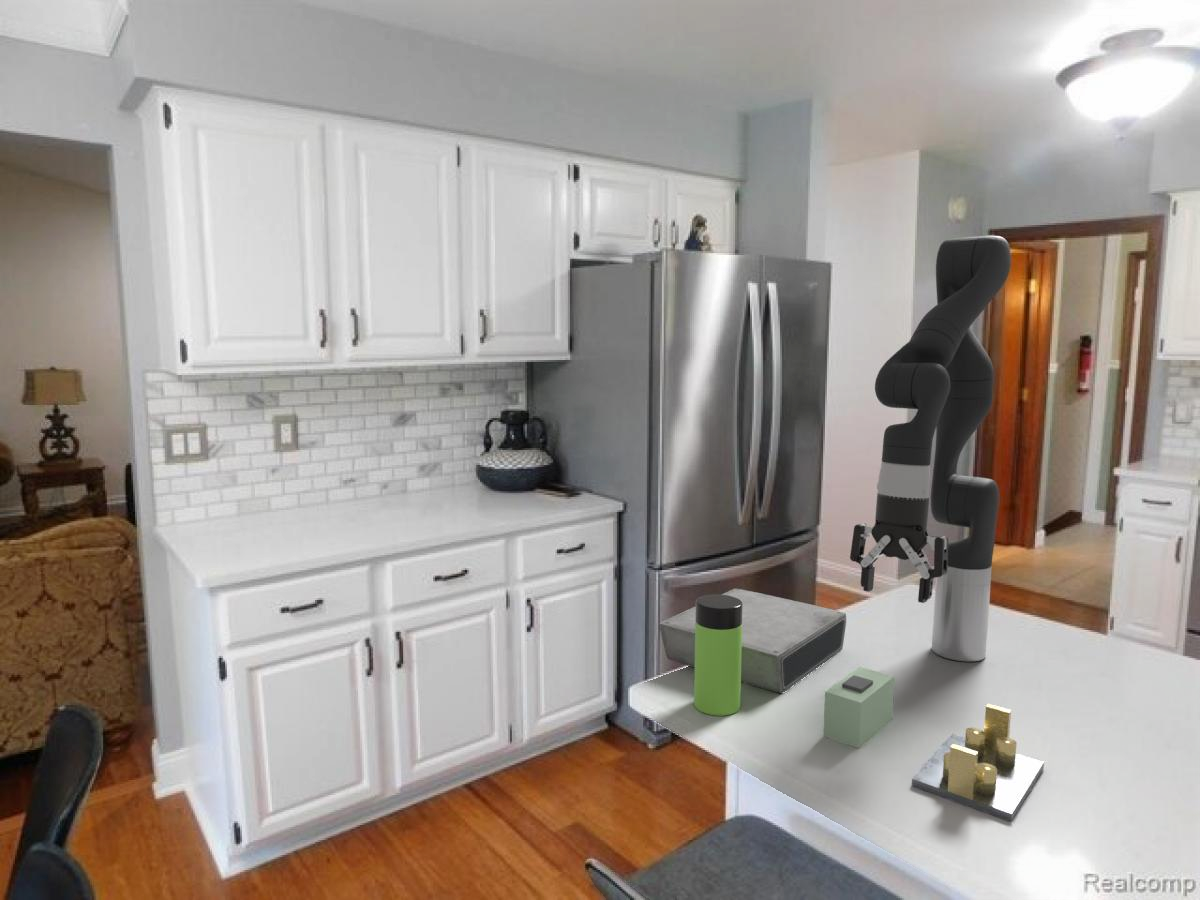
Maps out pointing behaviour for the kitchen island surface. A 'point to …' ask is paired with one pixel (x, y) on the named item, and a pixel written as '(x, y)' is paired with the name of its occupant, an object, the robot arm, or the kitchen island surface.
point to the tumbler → (718, 654)
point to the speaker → (768, 638)
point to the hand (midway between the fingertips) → (894, 596)
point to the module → (858, 706)
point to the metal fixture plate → (982, 768)
